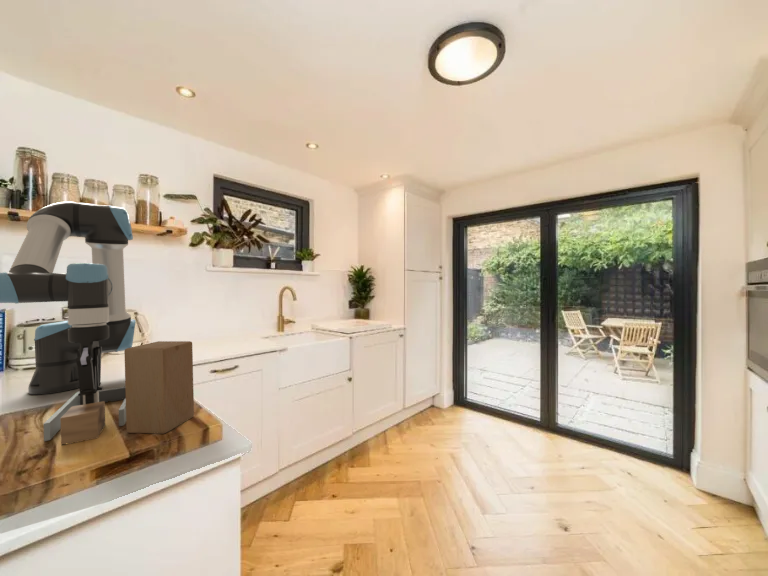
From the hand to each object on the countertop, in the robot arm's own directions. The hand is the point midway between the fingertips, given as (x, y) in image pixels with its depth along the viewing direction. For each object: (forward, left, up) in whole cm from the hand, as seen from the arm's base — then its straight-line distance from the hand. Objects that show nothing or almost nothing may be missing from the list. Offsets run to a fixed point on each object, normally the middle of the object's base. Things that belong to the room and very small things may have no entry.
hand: (91, 418), depth 78 cm
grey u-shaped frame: (-8, 0, -2) cm, 8 cm away
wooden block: (+10, +15, -2) cm, 18 cm away
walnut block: (+6, 0, -2) cm, 6 cm away
